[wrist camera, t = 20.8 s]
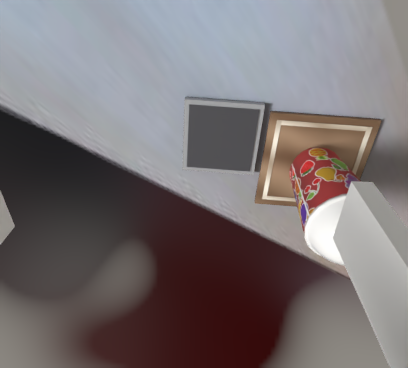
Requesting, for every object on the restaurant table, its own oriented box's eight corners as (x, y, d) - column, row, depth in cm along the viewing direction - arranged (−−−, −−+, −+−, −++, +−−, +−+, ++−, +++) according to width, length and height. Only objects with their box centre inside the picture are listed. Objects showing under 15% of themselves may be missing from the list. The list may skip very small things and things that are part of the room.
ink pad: (185, 97, 40) (184, 99, 39) (264, 102, 40) (265, 105, 39) (183, 166, 45) (182, 170, 44) (252, 171, 45) (253, 175, 44)
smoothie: (274, 186, 46) (308, 303, 29) (291, 133, 41) (343, 232, 24) (331, 194, 46) (397, 314, 29) (353, 142, 42) (447, 247, 25)
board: (270, 111, 41) (271, 112, 40) (379, 119, 41) (381, 121, 40) (254, 201, 48) (255, 203, 47) (347, 207, 48) (348, 210, 47)
